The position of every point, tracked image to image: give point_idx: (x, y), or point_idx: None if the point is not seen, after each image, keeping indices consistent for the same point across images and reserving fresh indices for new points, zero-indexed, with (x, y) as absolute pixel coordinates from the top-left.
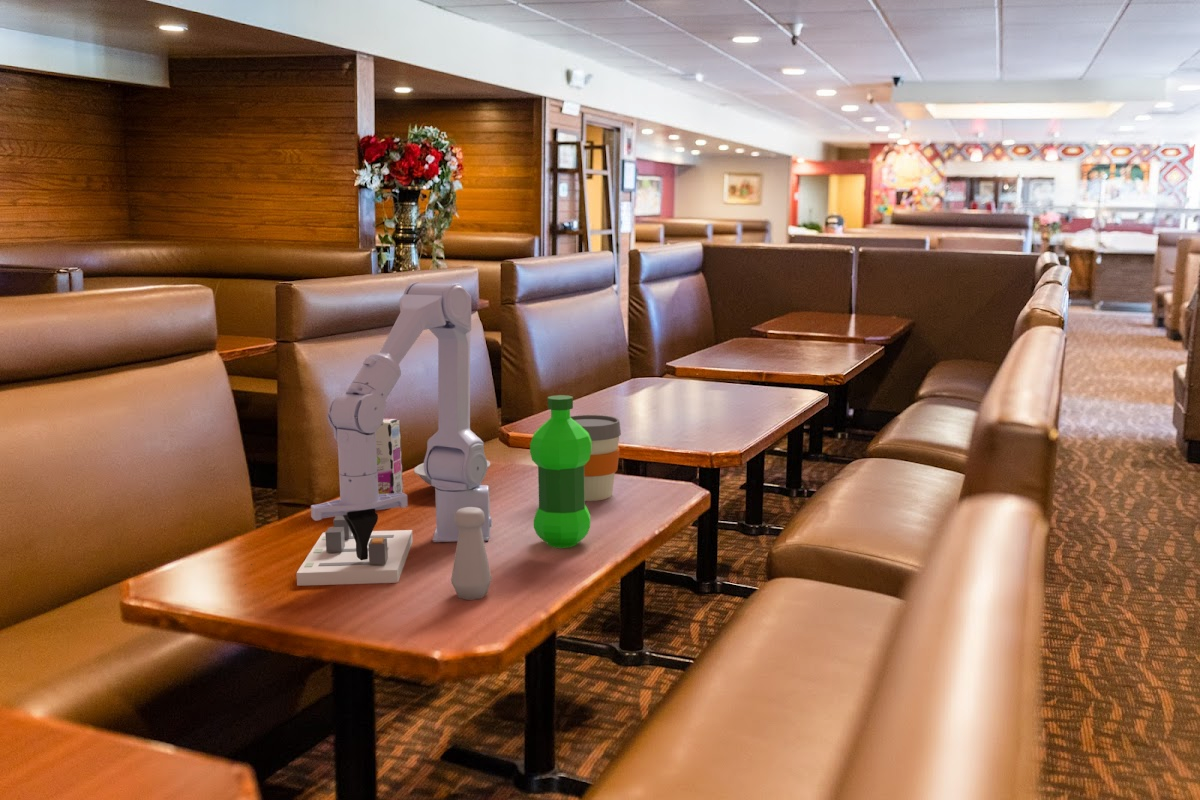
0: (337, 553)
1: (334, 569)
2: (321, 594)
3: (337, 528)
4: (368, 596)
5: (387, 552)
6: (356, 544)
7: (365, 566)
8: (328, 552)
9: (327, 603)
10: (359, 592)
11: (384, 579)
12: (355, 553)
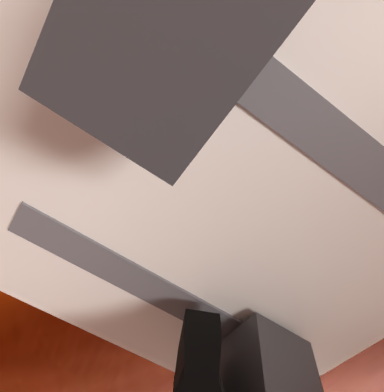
0: None
1: (68, 300)
2: (20, 316)
3: (210, 11)
4: (135, 387)
5: (315, 369)
6: (182, 365)
7: None
8: None
9: (24, 367)
10: (125, 360)
11: None
12: (254, 173)
